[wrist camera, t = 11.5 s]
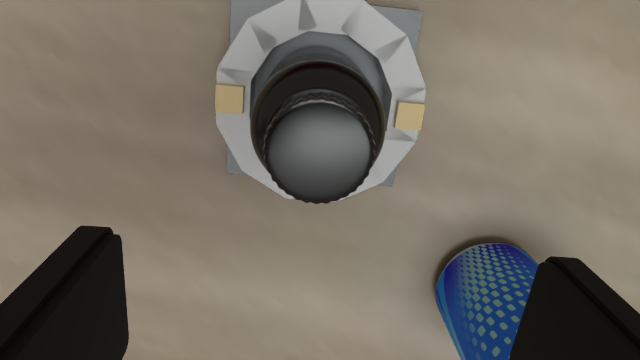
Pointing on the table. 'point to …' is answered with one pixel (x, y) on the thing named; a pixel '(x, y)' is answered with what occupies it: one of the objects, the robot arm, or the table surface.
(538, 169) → the table surface
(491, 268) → the beer can
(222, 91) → the socket
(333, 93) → the supplement bottle
